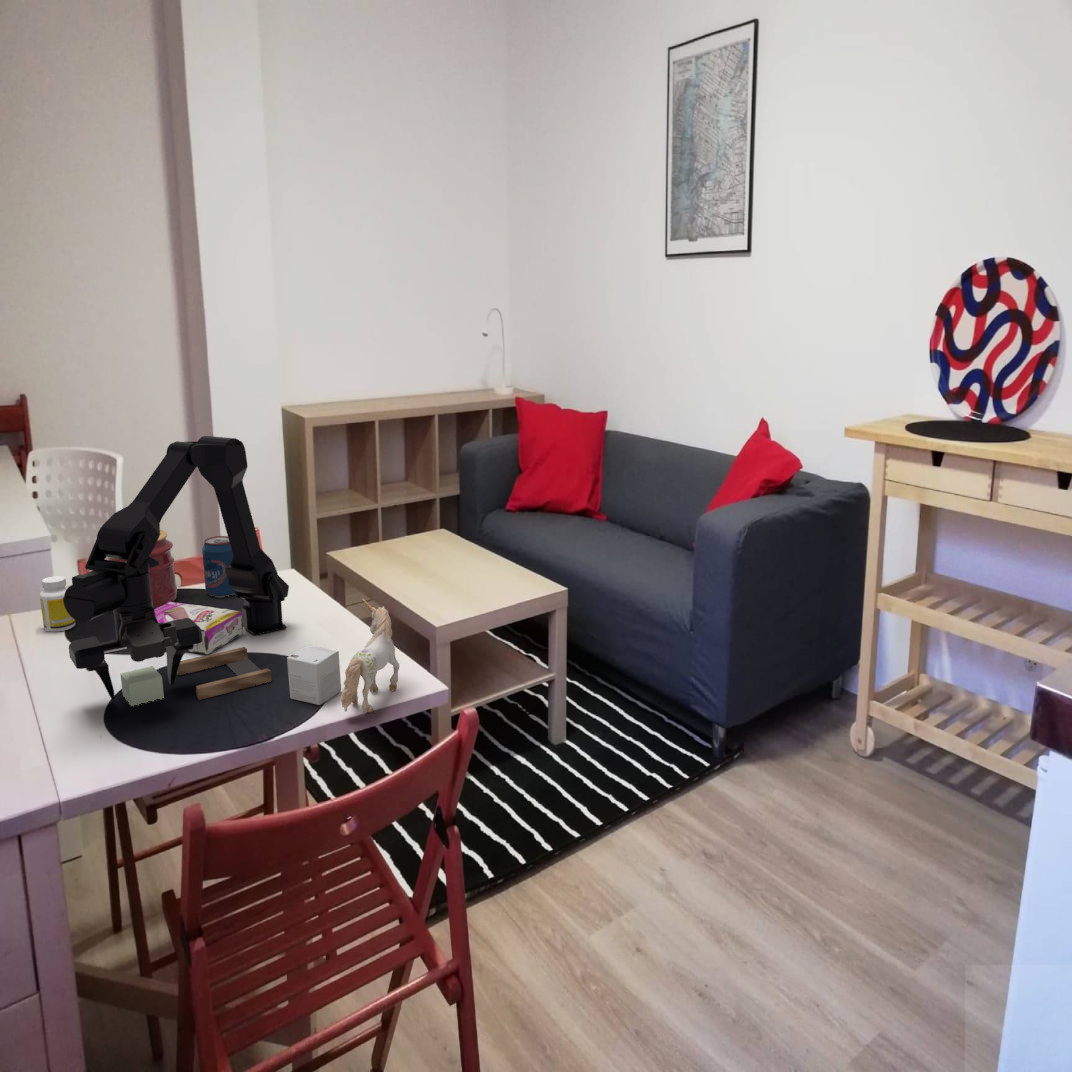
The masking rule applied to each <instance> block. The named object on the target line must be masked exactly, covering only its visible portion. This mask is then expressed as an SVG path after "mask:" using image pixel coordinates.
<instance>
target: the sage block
mask: <svg viewBox="0 0 1072 1072" xmlns="http://www.w3.org/2000/svg"><path fill="white" fill-rule="evenodd" d="M120 682H121V692H122V696H123V698H124V697H125V698H124V700H126V702H127V701H128V702H129V703H128V702H127V703H128V705H129V706H130V705H131V706H133V707H135V706H134V705H137V706H140V705H139V704H141V703H145V704H147V702H148V701H152V702H155V701H154V700H156V699H160V700H163V699H162V698H164V699H165V695H164V683H163V676H162V675H161V674H160V672H158V670H157V669H156V668H155V667H154V666H153V665H152V666H147V667H143V668H142V667H141V668H139V669H134V670H130V671H129V670H128V671H125V672H121V673H120ZM156 701H157V700H156ZM148 703H149V702H148ZM141 705H142V704H141ZM131 706H130V707H131Z"/></svg>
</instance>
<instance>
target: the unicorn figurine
mask: <svg viewBox="0 0 1072 1072" xmlns="http://www.w3.org/2000/svg"><path fill="white" fill-rule="evenodd" d="M361 601H362V602H363V603H364V604H365V606H366V608H368V610H369V611H370V613H371V620H372V621H371V625H370V627H369V631H370V633H371V634H372V637H371V638H370V639H369V640H368V641H367V643H366V645H365V646H364V648H363V649H361V650H358V651H357V652H356V653H355V654H354V655H353V656H352V657H351V659H350V660H349V663H348V665H347V668H346V669H345V672H344V673H345V680H344V682H343V685H344V688H343V690H342V693H341V697H340V703H341V707H342V708H343V710H344V712H348V707H350V706H351V704H355V705H357V704H358V700H359V696H358V687H359V684H360V683H359V682H360V678H362V679H363V682H364V684H363V689H362V691H361V693H362V697H363V701H362V703H361V704H362V705H361V708H362V710H363V713H364V714H366V713H367V712H368V713H372V712H375V711H374V708H373V706H372V705H371V704H370V703H369V698H368V697H369V696H368V695H369V693H373V691H374V692H377V691H378V690H379V687H378V685H377V682H376V681H377V680H376V677H377V676H376V675H377V673H378V671H380V670H382V669H384V668H385V667H386V666H387V664H390V665H392V668H393V674H392V675H391V677H390V679H389V681H390V684H389V686H388V688H389V691H390V692H396V691H397V687H398V681H399V670H400V663H399V661H398V660H397V657H396V647H395V645H394V641H393V639H392V637H393V630H392V620H391V617H390V615H389V611H388V610H387V609H386V608H385V606H382V607H381V606H378V608H377V609H376V607H374V606H372V605H371V604H370V603H369V602H368V601H366V599H364V598H361ZM392 690H393V691H392Z"/></svg>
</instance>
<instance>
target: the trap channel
mask: <svg viewBox="0 0 1072 1072" xmlns="http://www.w3.org/2000/svg"><path fill="white" fill-rule="evenodd" d="M232 662H234V663H232ZM224 664H226V665H224ZM221 665H222V666H226V667H227V666H228V667H227V668H228V669H229V668H230V669H229V670H230V671H231V672H232V671H233V672H232V673H233V674H234V673H235V674H234V675H235V676H231V677H227V678H223V679H219V680H214V681H210V682H206V683H202V684H199V685H195V693H196V698H197V700H198V701H201V700H204V699H209V698H213V697H217V696H220V695H225V694H228V693H232V692H236V691H239V689H241V690H243V689H248V688H251V687H256V686H259V685H263V684H262V683H264V684H267V682H268V683H271V681H272V671H271V669H269V668H263V669H260V668H259V667H258V666H257V664H255V663H254V662H253V661H252V660H251V659H250V658H249V657H248V648H246V646H242V647H237V648H232V649H230V650H229V649H228V650H225V651H220V652H214V653H212V654H211V653H209V654H205V655H201V656H199V657H193V658H189V659H185V660H181V661H180V664H179V667H178V671H177V674H176V675H177V676H178V675H179V676H183V675H187V674H186V673H188V674H192V673H196V672H200V671H205V670H208V668H209V669H213V668H217V667H220V666H221ZM215 666H216V667H215ZM204 669H205V670H204ZM236 675H237V676H236ZM255 685H256V686H255Z"/></svg>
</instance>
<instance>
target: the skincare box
mask: <svg viewBox="0 0 1072 1072" xmlns="http://www.w3.org/2000/svg"><path fill="white" fill-rule="evenodd" d="M339 652H340V651H339V650H337V649H332V648H326V647H322V646H317V645H313V644H308V645H307V646H305V647H303V648H301V649H299V650H298V651H296V652H294V653H292V654H291V655H289V656H287V657H286V662H287V664H286V665H287V674H288V676H287V677H288V686H289V688H288V689H289V698H290V700H291V699H292V700H296V701H300V702H305V703H308V704H314V705H317V706H320V705H322V704H324V703H325V702H327V701H328V700H329V699H331V698H333V697H334V696H336V695H338V693H340V692H341V691H342V683H341V669H340V667H341V666H340V653H339Z"/></svg>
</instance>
